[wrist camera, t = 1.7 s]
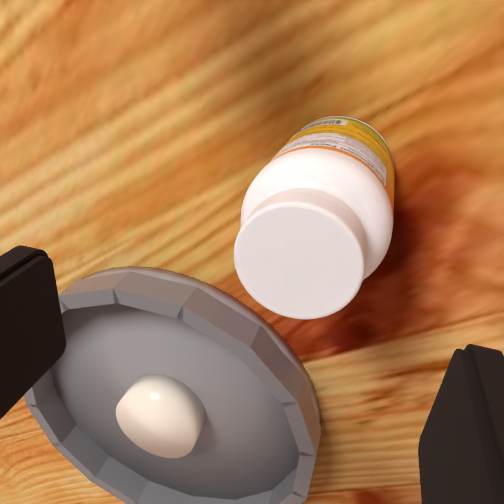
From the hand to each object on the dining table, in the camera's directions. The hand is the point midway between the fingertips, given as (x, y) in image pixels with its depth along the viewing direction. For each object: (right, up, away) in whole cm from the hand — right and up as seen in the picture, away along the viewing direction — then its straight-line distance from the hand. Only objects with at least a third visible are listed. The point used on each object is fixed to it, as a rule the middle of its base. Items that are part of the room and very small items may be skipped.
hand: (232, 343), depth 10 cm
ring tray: (-5, -9, +22) cm, 25 cm away
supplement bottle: (+5, +6, +11) cm, 14 cm away
